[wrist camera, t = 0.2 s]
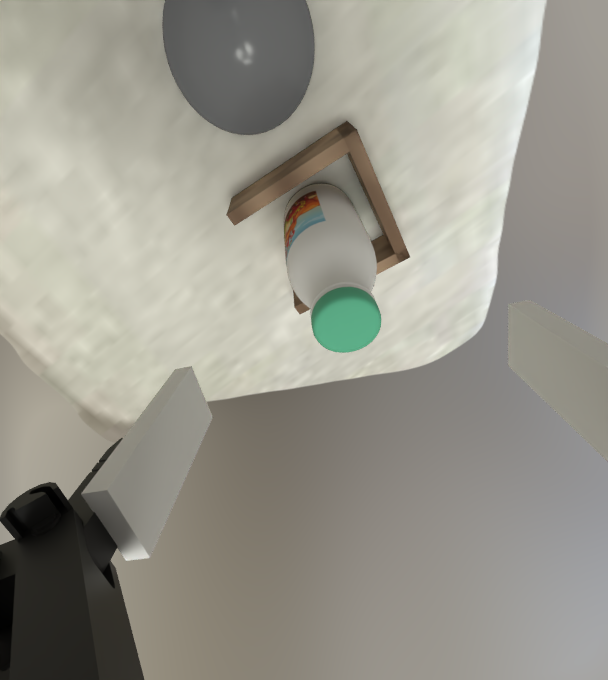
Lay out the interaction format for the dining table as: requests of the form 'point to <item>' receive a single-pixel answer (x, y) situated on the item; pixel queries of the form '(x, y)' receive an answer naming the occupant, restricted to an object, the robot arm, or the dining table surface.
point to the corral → (308, 164)
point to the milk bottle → (332, 267)
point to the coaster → (240, 59)
